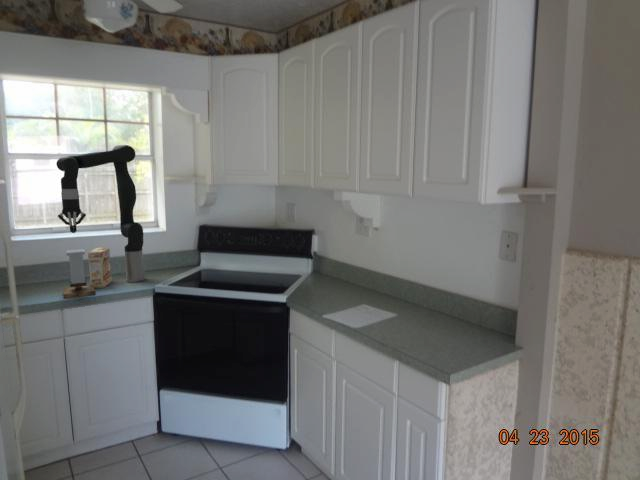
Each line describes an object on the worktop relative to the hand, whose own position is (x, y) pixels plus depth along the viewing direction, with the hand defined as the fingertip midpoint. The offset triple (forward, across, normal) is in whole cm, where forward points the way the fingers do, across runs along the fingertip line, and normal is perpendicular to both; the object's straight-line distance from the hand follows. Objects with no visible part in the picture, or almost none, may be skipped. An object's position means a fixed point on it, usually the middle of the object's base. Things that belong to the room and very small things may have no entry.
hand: (73, 232), depth 231 cm
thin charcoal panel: (+27, 0, 0) cm, 27 cm away
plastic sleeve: (+25, 0, 0) cm, 25 cm away
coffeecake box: (+32, -12, -14) cm, 36 cm away
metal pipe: (+29, 0, 0) cm, 29 cm away
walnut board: (+31, 0, 0) cm, 31 cm away
